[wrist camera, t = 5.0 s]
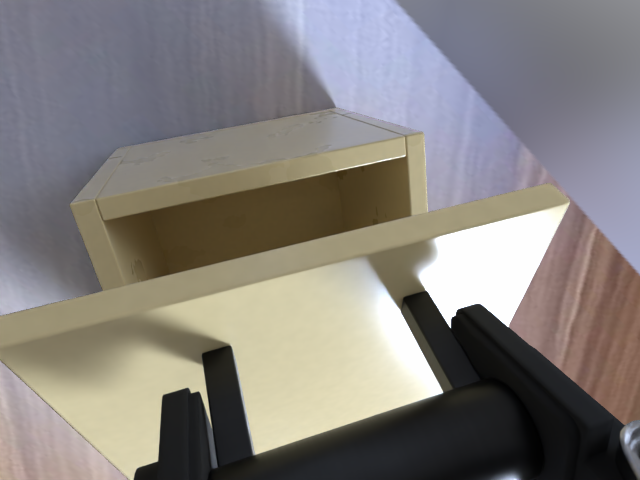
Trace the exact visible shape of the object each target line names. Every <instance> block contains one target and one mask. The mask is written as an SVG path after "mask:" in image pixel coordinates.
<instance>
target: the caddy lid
mask: <svg viewBox="0 0 640 480" xmlns="http://www.w3.org/2000/svg"><path fill="white" fill-rule="evenodd" d="M569 204H570V201H569V199H568V198H567V197H566V196H565V195H563V194H562V193H561V192H560V191H559V190H558V189H557V188H556V187H555V186H554V185H552V184H551V183H546V184H542V185H538V186H533V187H529V188H525V189H521V190H517V191H513V192H509V193H505V194H500V195H496V196H492V197H488V198H484V199H480V200H476V201H472V202H467V203H463V204H459V205H455V206H451V207H447V208H443V209H439V210H435V211H430V212H426V213H422V214H418V215H414V216H410V217H406V218H402V219H397V220H393V221H389V222H385V223H381V224H377V225H373V226H369V227H364V228H360V229H356V230H352V231H348V232H344V233H340V234H336V235H331V236H327V237H323V238H319V239H315V240H311V241H307V242H303V243H299V244H294V245H290V246H286V247H282V248H278V249H274V250H270V251H266V252H261V253H257V254H253V255H249V256H245V257H241V258H237V259H233V260H228V261H224V262H220V263H216V264H212V265H208V266H204V267H200V268H195V269H191V270H187V271H183V272H179V273H175V274H171V275H167V276H162V277H158V278H154V279H150V280H146V281H142V282H138V283H134V284H130V285H125V286H121V287H117V288H113V289H109V290H105V291H101V292H97V293H92V294H88V295H84V296H80V297H76V298H72V299H68V300H64V301H59V302H55V303H51V304H47V305H43V306H39V307H35V308H31V309H26V310H22V311H18V312H14V313H10V314H6V315H2V316H0V361H1V362H3V363H4V364H5V365H6V366H7V367H8V368H9V369H10V370H11V371H12V372H13V373H14V374H15V375H17V376H18V377H19V378H20V379H21V380H22V381H23V382H24V383H25V384H26V385H27V386H28V387H29V388H31V389H32V390H33V391H34V392H35V393H36V394H37V395H38V396H39V397H40V398H41V399H42V400H43V401H44V402H46V403H47V404H48V405H49V406H50V407H51V408H52V409H53V410H54V411H55V412H56V413H57V414H58V415H60V416H61V417H62V418H63V419H64V420H65V421H66V422H67V423H68V424H69V425H70V426H71V427H72V428H74V429H75V430H76V431H77V432H78V433H79V434H80V435H81V436H82V437H83V438H84V439H85V440H86V441H87V442H89V443H90V444H91V445H92V446H93V447H94V448H95V449H96V450H97V451H98V452H99V453H100V454H101V455H103V456H104V457H105V458H106V459H107V460H108V461H109V462H110V463H111V464H112V465H113V466H114V467H115V468H117V469H118V470H119V471H120V472H121V473H122V474H123V475H124V476H125V477H126V478H127V479H128V480H134V475H135V471H136V469H137V468H139V467H142V466H145V465H148V464H151V463H154V462H157V461H158V455H159V438H160V422H161V406H162V396H163V395H164V394H167V393H171V392H174V391H178V390H181V389H184V388H189V389H190V391H191V393H194V392H198V391H199V392H200V394H201V397H202V400H203V403H204V406H205V409H206V412H207V415H208V418H209V421H210V424H211V427H212V432H213V439H214V446H215V453H216V460H217V468H214V469H212V470H211V471H210V473H209V478H208V480H534V479H536V478H537V477H538V476H539V475H540V474H541V472H542V470H543V465H544V457H543V449H542V445H541V441H540V438H539V435H538V432H537V430H536V427H535V425H534V423H533V421H532V419H531V417H530V415H529V413H528V411H527V410H526V408H525V406H524V405H523V403H522V402H521V401H520V399H519V398H518V397H517V395H516V394H515V393H514V392H513V391H512V390H511V389H510V388H509V387H508V386H507V385H506V384H504V383H503V382H501V381H500V380H497V379H494V378H486V379H483V380H482V379H481V377H480V375H479V374H478V372H477V371H476V369H475V367H474V366H473V364H472V362H471V361H470V359H469V357H468V356H467V354H466V353H465V351H464V349H463V348H462V346H461V344H460V343H459V341H458V339H457V338H456V336H455V335H454V333H453V331H452V330H451V318H452V317H453V316H455V313H456V310H457V309H459V308H462V307H466V306H469V305H472V304H476V303H480V304H482V305H483V306H485V307H486V308H487V309H488V310H489V311H490V312H492V313H493V314H494V315H495V316H496V317H497V318H499V319H500V320H501V321H502V322H503V323H504V324H506V325H507V326H509V324H510V322H511V320H512V318H513V316H514V314H515V312H516V310H517V308H518V306H519V304H520V302H521V300H522V298H523V296H524V294H525V292H526V290H527V288H528V286H529V284H530V282H531V280H532V278H533V276H534V274H535V272H536V270H537V268H538V266H539V264H540V262H541V260H542V258H543V256H544V254H545V252H546V250H547V248H548V246H549V244H550V242H551V240H552V238H553V236H554V234H555V232H556V230H557V228H558V226H559V224H560V222H561V220H562V218H563V216H564V214H565V212H566V210H567V208H568V206H569Z"/></svg>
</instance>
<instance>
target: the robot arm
mask: <svg viewBox="0 0 640 480" xmlns="http://www.w3.org/2000/svg"><path fill="white" fill-rule="evenodd" d="M451 330H452V331H453V333H454V335H455V336H456V338H457V339H458V341H459V343H460V344H461V346H462V348H463V349H464V351H465V353H466V354H467V356H468V357H469V359H470V361H471V362H472V364H473V366H474V367H475V369H476V371H477V372H478V374H479V375H480V377H481V379H482V380H483V379H486V378H494V379H497V380H500V381H501V382H503V383H504V384H506V385H507V386H508V387H509V388H510V389H511V390H512V391H513V392H514V393H515V394H516V395H517V397H518V398H519V399H520V401H521V402H522V403H523V405H524V406H525V408H526V410H527V411H528V413H529V415H530V417H531V419H532V421H533V423H534V425H535V427H536V430H537V432H538V435H539V438H540V441H541V445H542V449H543V457H544V465H543V470H542V472H541V474H540V475H539V476H538V477H537V478H536V479H534V480H640V420H636V421H632V422H630V423H628V424H626V425H623V424H622V423H621V422H620V421H619V420H618V419H616V418H615V417H614V416H613V415H612V414H611V413H610V412H608V411H607V410H606V409H605V408H604V407H603V406H601V405H600V404H599V403H598V402H597V401H596V400H594V399H593V398H592V397H591V396H590V395H589V394H587V393H586V392H585V391H584V390H583V389H582V388H580V387H579V386H578V385H577V384H576V383H575V382H573V381H572V380H571V379H570V378H569V377H568V376H566V375H565V374H564V373H563V372H562V371H561V370H559V369H558V368H557V367H556V366H555V365H554V364H552V363H551V362H550V361H549V360H548V359H547V358H545V357H544V356H543V355H542V354H541V353H540V352H538V351H537V350H536V349H535V348H533V347H532V346H530V345H529V344H528V343H526V342H525V341H524V340H523V339H522V338H521V337H519V336H518V335H517V334H516V333H515V332H514V331H512V330H511V329H510V328H509V327H508V326H507V325H506V324H504V323H503V322H502V321H501V320H500V319H499V318H497V317H496V316H495V315H494V314H493V313H492V312H490V311H489V310H488V309H487V308H486V307H485V306H483V305H482V304H480V303H476V304H472V305H469V306H466V307H462V308H459V309H457V310H456V313H455V316H453V317H452V318H451ZM214 468H217V460H216V453H215V446H214V439H213V432H212V427H211V424H210V421H209V418H208V415H207V412H206V409H205V406H204V403H203V400H202V397H201V394H200V392H199V391H198V392H194V393H191V391H190V389H189V388H184V389H181V390H178V391H174V392H171V393H167V394H164V395H163V396H162V406H161V422H160V438H159V455H158V461H157V462H154V463H151V464H148V465H145V466H142V467H139V468H137V469H136V471H135V475H134V480H208V478H209V473H210V471H211V470H212V469H214Z"/></svg>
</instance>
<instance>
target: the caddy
mask: <svg viewBox="0 0 640 480" xmlns="http://www.w3.org/2000/svg"><path fill="white" fill-rule="evenodd" d="M69 206H70V208H71V211H72V213H73V216H74V218H75V221H76V224H77V226H78V229H79V231H80V234H81V236H82V239H83V242H84V244H85V247H86V249H87V252H88V254H89V257H90V260H91V262H92V265H93V267H94V270H95V272H96V275H97V278H98V280H99V283H100V285H101V288H102V290H103V291H105V290H109V289H113V288H117V287H121V286H125V285H130V284H134V283H138V282H142V281H146V280H150V279H154V278H158V277H162V276H167V275H171V274H175V273H179V272H183V271H187V270H191V269H195V268H200V267H204V266H208V265H212V264H216V263H220V262H224V261H228V260H233V259H237V258H241V257H245V256H249V255H253V254H257V253H261V252H266V251H270V250H274V249H278V248H282V247H286V246H290V245H294V244H299V243H303V242H307V241H311V240H315V239H319V238H323V237H327V236H331V235H336V234H340V233H344V232H348V231H352V230H356V229H360V228H364V227H369V226H373V225H377V224H381V223H385V222H389V221H393V220H397V219H402V218H406V217H410V216H414V215H418V214H422V213H426V212H428V206H427V185H426V163H425V141H424V132H421V131H417V130H414V129H411V128H407V127H404V126H400V125H397V124H393V123H390V122H386V121H383V120H379V119H376V118H372V117H369V116H365V115H362V114H358V113H355V112H351V111H348V110H344V109H340V108H331V109H326V110H320V111H315V112H310V113H304V114H299V115H293V116H288V117H283V118H277V119H272V120H266V121H261V122H255V123H250V124H245V125H239V126H234V127H228V128H223V129H218V130H212V131H207V132H201V133H196V134H190V135H185V136H180V137H174V138H169V139H163V140H158V141H153V142H147V143H142V144H136V145H131V146H125V147H120V148H117V149H116V150H115V151H114V152H113V153H112V155H111V156H110V157H109V158H108V159H107V160H106V162H105V163H104V164H103V165H102V166H101V168H100V169H99V170H98V171H97V172H96V174H95V175H94V176H93V177H92V178H91V179H90V181H89V182H88V183H87V184H86V185H85V187H84V188H83V189H82V190H81V191H80V192H79V194H78V195H77V196H76V197H75V198H74V200H73V201H72V202H71V203H70V205H69Z"/></svg>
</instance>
